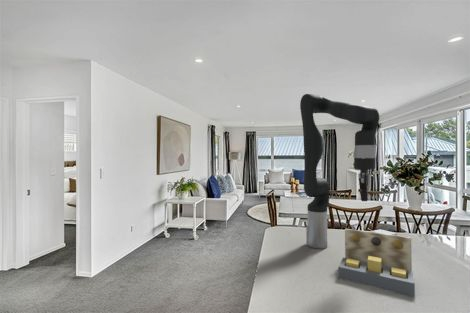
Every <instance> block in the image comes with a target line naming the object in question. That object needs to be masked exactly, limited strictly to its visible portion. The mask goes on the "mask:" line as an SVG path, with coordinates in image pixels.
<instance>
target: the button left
mask: <svg viewBox="0 0 470 313" xmlns="http://www.w3.org/2000/svg"><path fill="white" fill-rule="evenodd" d="M346 266H350V267H355V268H359V261H358V260H353V259H347V261H346Z"/></svg>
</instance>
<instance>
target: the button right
mask: <svg viewBox="0 0 470 313" xmlns="http://www.w3.org/2000/svg"><path fill="white" fill-rule="evenodd" d="M392 276H397V277H401V278H406V270H404V269H399V268H394V267H392Z"/></svg>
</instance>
